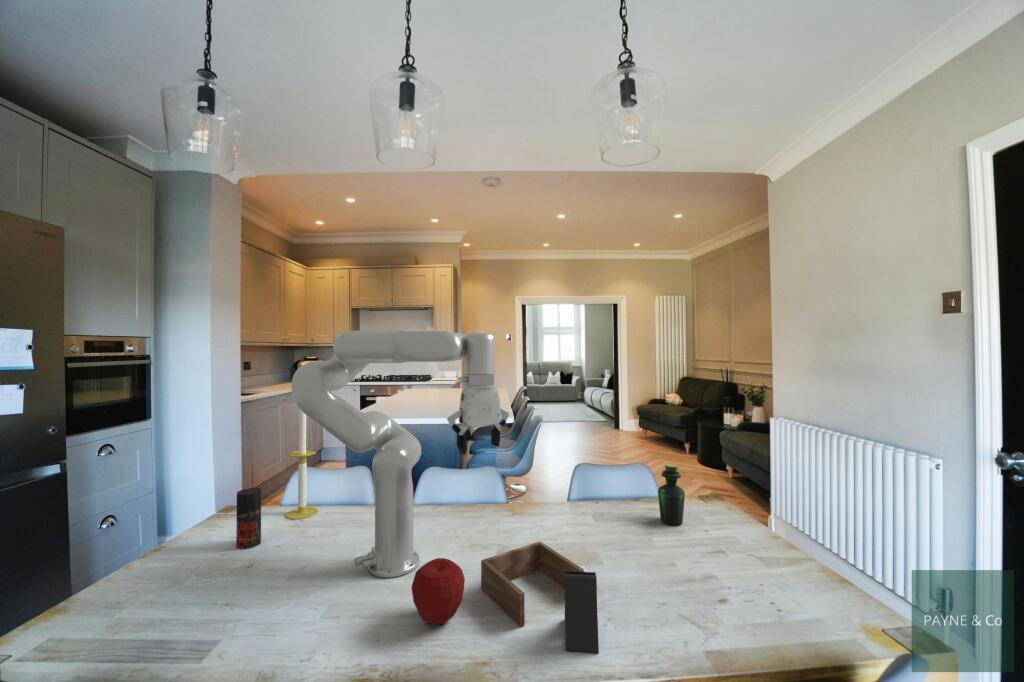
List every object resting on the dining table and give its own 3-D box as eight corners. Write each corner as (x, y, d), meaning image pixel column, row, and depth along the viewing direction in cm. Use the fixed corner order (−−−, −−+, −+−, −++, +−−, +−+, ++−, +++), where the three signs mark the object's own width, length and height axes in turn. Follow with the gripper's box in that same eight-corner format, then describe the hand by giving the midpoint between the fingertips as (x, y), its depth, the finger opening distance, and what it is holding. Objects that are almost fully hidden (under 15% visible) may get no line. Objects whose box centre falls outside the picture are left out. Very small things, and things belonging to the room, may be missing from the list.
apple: (416, 603, 90) (416, 549, 90) (466, 601, 90) (466, 547, 91) (406, 638, 79) (406, 577, 79) (462, 636, 79) (462, 575, 80)
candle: (290, 509, 143) (290, 400, 143) (321, 506, 145) (321, 399, 146) (281, 520, 133) (282, 404, 134) (315, 517, 135) (315, 403, 136)
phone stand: (598, 654, 75) (598, 587, 75) (565, 651, 75) (565, 585, 76) (594, 621, 84) (594, 561, 84) (564, 619, 84) (564, 560, 85)
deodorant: (231, 547, 116) (231, 493, 116) (251, 538, 121) (252, 486, 121) (245, 550, 113) (246, 496, 114) (265, 541, 119) (266, 489, 119)
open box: (520, 627, 82) (520, 594, 82) (481, 588, 95) (481, 560, 95) (583, 598, 91) (583, 569, 91) (539, 567, 105) (539, 541, 105)
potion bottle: (659, 526, 129) (659, 468, 129) (656, 515, 136) (656, 461, 137) (687, 528, 127) (687, 469, 127) (682, 517, 135) (682, 462, 135)
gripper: (454, 383, 98) (453, 455, 98) (515, 380, 108) (515, 446, 107) (442, 381, 105) (441, 448, 104) (501, 378, 114) (500, 441, 114)
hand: (478, 447), depth 106 cm, fingers open, 9 cm apart
